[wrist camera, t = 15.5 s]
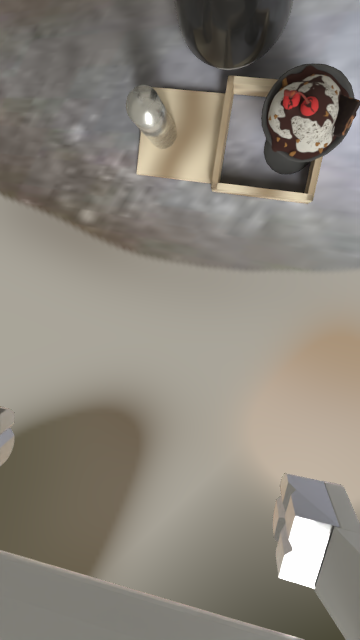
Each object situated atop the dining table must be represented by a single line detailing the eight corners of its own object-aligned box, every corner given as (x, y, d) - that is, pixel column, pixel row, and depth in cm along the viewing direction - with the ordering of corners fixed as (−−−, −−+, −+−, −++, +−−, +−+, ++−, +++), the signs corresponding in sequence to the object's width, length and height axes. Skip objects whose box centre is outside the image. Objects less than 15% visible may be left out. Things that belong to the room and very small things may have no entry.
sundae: (242, 148, 36) (244, 84, 21) (295, 98, 34) (337, -8, 19) (281, 197, 36) (308, 167, 22) (335, 150, 34) (405, 84, 20)
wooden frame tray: (137, 181, 38) (109, 165, 30) (147, 80, 36) (120, 32, 28) (307, 203, 36) (327, 192, 28) (331, 95, 33) (361, 48, 25)
